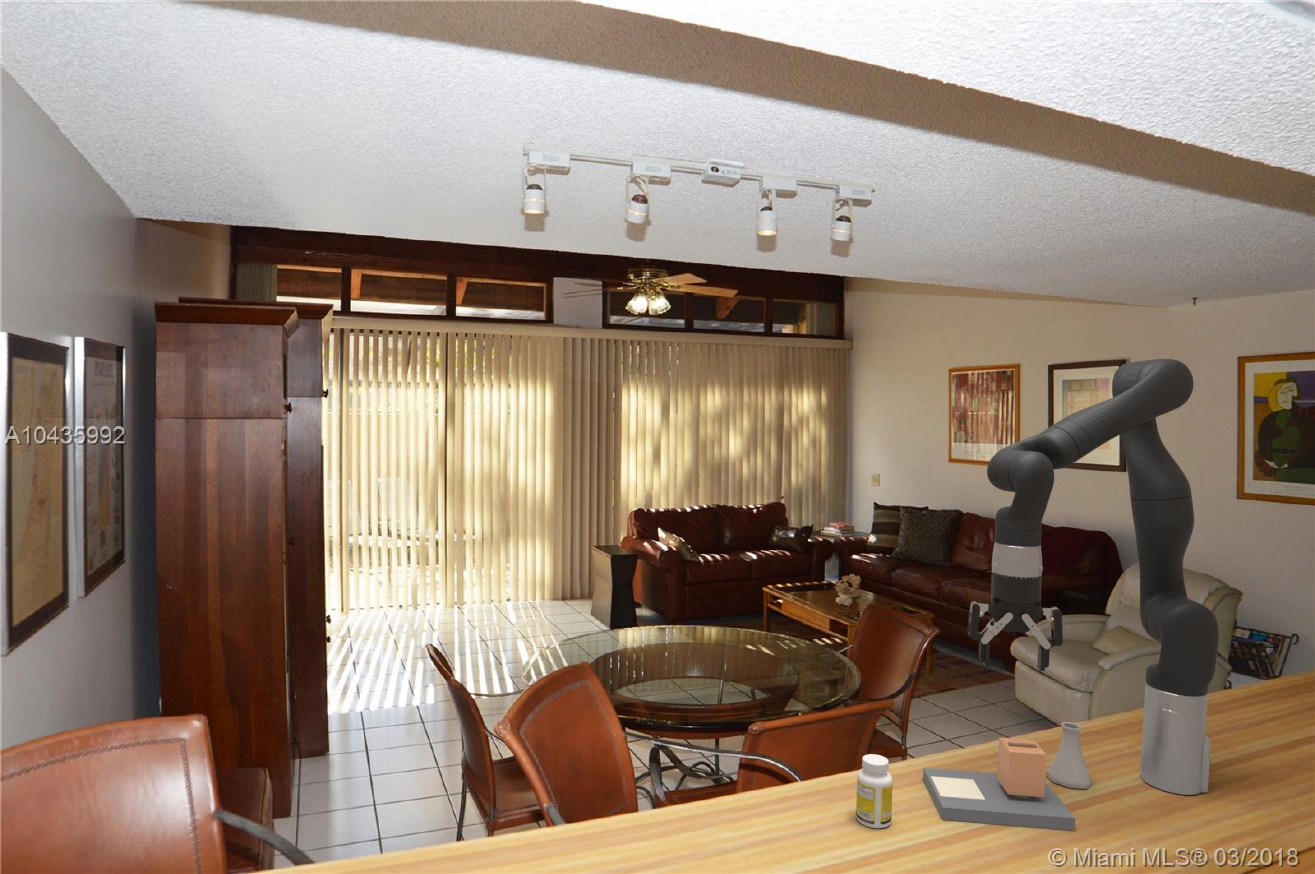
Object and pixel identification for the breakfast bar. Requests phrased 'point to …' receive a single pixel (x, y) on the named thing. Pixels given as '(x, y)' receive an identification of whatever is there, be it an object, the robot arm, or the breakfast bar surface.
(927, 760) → the breakfast bar surface
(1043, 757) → the slotted tan cube
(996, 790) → the post board
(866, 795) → the supplement bottle
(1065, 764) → the flask
